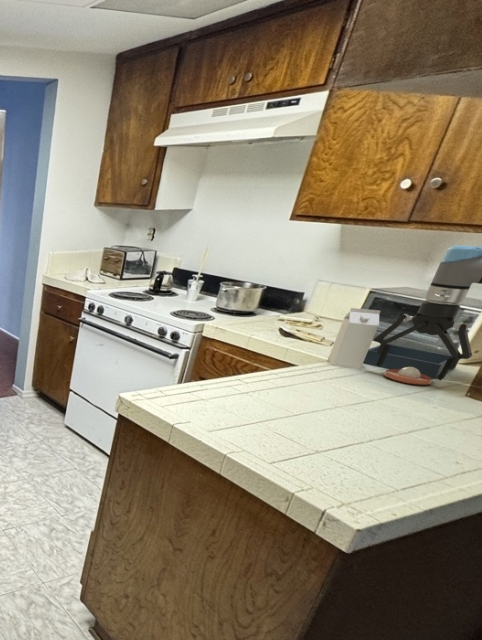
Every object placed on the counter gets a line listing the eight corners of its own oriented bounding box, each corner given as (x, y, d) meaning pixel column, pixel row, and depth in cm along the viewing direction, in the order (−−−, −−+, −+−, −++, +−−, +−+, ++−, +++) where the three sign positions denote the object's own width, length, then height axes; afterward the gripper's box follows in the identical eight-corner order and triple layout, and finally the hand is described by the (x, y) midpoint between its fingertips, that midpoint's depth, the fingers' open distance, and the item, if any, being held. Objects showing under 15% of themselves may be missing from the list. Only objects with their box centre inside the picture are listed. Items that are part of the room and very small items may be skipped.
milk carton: (327, 360, 161) (348, 306, 154) (354, 364, 158) (377, 308, 151) (331, 366, 156) (354, 309, 148) (360, 370, 152) (384, 312, 145)
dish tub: (450, 371, 153) (458, 356, 151) (433, 380, 144) (441, 364, 142) (379, 356, 167) (385, 343, 165) (360, 364, 158) (366, 349, 156)
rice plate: (433, 384, 141) (441, 369, 139) (422, 390, 136) (430, 374, 134) (389, 374, 149) (395, 360, 147) (377, 379, 144) (383, 364, 142)
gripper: (379, 295, 141) (351, 361, 150) (505, 312, 122) (465, 387, 130) (388, 293, 145) (360, 358, 153) (512, 310, 125) (472, 383, 133)
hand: (408, 371), depth 142 cm, fingers open, 13 cm apart
